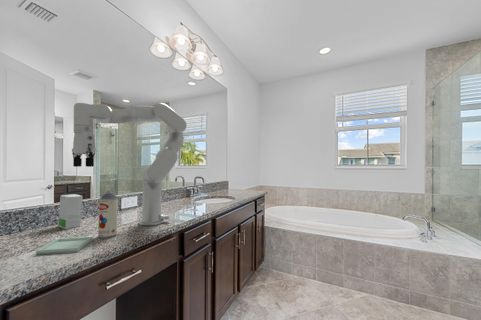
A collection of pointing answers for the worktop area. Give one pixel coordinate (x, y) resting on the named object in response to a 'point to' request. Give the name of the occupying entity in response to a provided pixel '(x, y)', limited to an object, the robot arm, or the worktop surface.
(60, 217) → the skincare box
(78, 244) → the tray
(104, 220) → the aerosol can
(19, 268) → the worktop surface
